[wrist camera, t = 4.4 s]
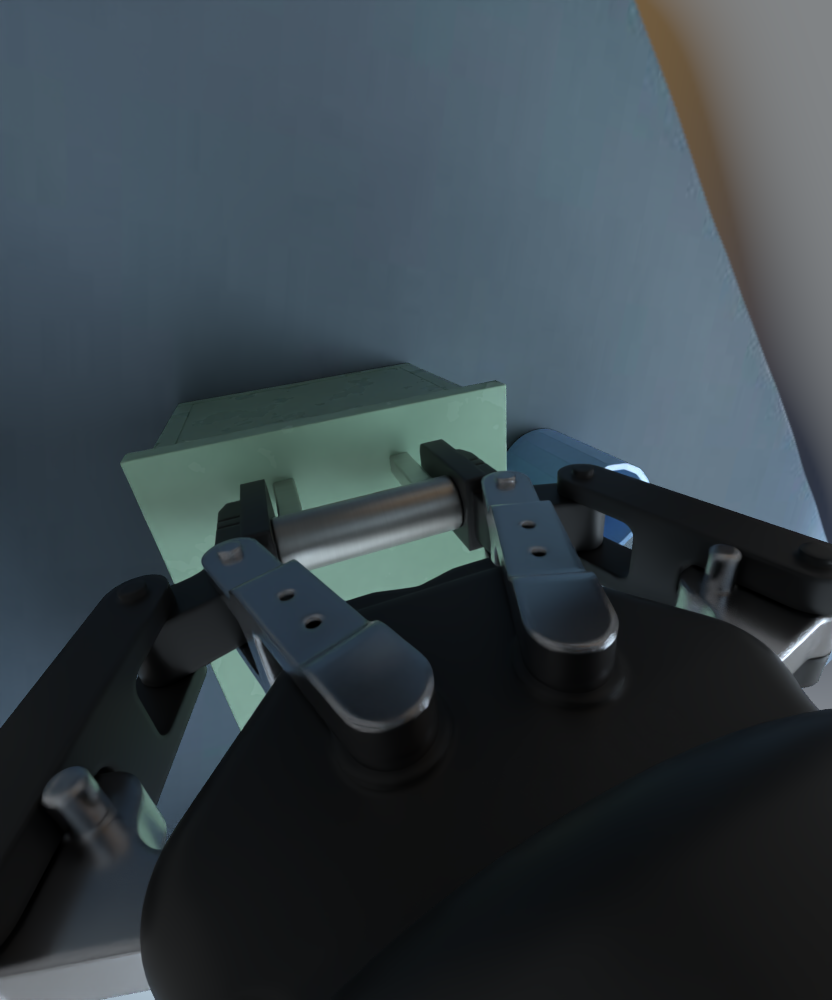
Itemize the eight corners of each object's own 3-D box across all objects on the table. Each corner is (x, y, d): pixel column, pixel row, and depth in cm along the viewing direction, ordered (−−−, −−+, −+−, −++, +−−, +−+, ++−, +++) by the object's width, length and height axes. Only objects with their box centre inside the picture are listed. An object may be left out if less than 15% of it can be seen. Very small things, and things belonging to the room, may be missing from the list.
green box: (177, 403, 23) (138, 472, 15) (408, 362, 26) (490, 398, 18) (258, 631, 30) (265, 771, 22) (433, 578, 34) (501, 681, 25)
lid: (124, 453, 14) (71, 537, 9) (495, 379, 17) (586, 416, 12) (265, 772, 22) (271, 899, 17) (501, 681, 25) (558, 769, 20)
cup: (522, 416, 31) (596, 450, 24) (585, 442, 33) (667, 479, 27) (485, 496, 32) (546, 547, 26) (548, 514, 35) (617, 565, 28)
